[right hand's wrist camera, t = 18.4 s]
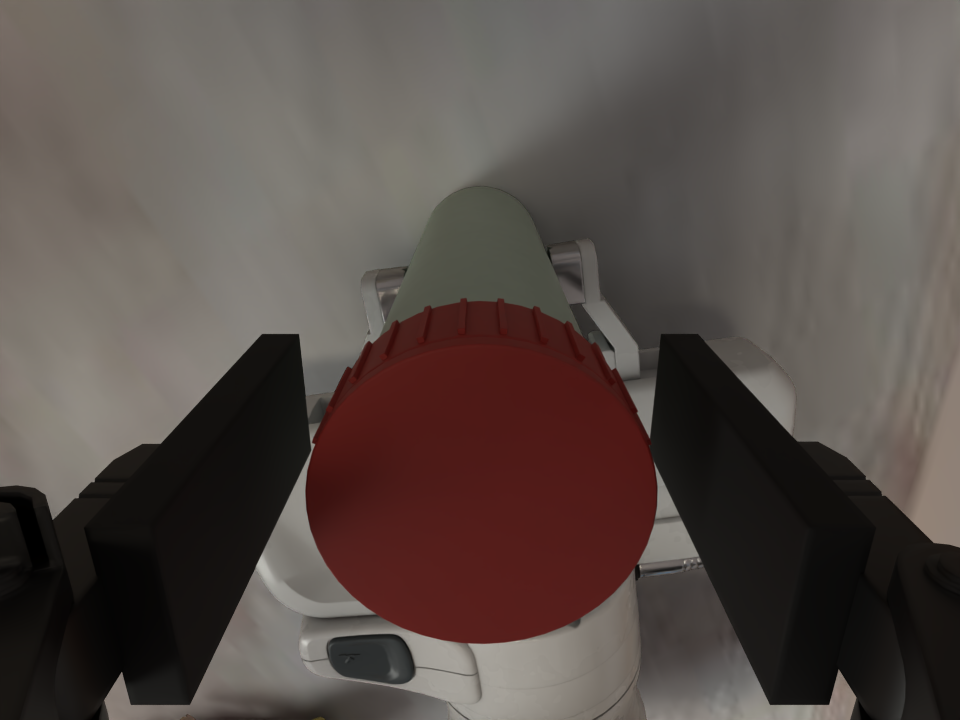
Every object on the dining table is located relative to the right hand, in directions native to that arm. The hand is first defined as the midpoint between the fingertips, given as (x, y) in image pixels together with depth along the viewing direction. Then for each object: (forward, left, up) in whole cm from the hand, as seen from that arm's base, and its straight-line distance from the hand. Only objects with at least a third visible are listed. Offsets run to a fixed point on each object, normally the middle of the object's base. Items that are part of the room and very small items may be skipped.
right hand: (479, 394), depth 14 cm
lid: (0, 0, +4) cm, 4 cm away
